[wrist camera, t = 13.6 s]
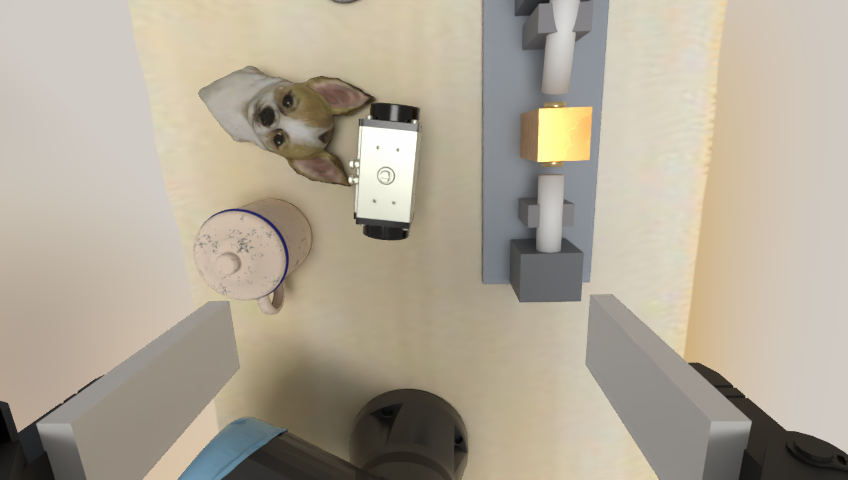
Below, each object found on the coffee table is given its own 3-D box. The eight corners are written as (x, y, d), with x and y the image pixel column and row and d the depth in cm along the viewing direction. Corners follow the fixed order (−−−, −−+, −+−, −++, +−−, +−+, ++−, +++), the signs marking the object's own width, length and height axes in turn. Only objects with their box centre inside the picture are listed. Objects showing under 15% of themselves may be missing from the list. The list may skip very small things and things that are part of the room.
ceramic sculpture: (198, 26, 34) (371, 87, 35) (241, 45, 42) (380, 94, 44) (177, 150, 37) (339, 201, 38) (222, 145, 45) (353, 187, 46)
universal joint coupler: (521, 106, 42) (539, 100, 34) (564, 105, 42) (593, 97, 34) (520, 164, 43) (537, 170, 35) (561, 162, 43) (588, 168, 35)
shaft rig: (586, 279, 47) (619, 311, 38) (482, 281, 48) (492, 313, 39) (607, -34, 39) (655, -83, 31) (482, -28, 40) (494, -74, 31)
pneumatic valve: (425, 113, 43) (419, 104, 32) (415, 220, 46) (406, 248, 34) (373, 108, 43) (349, 97, 32) (366, 215, 46) (342, 241, 35)
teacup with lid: (227, 203, 47) (159, 225, 35) (303, 189, 46) (259, 207, 34) (256, 300, 49) (202, 348, 38) (328, 288, 49) (295, 334, 37)
